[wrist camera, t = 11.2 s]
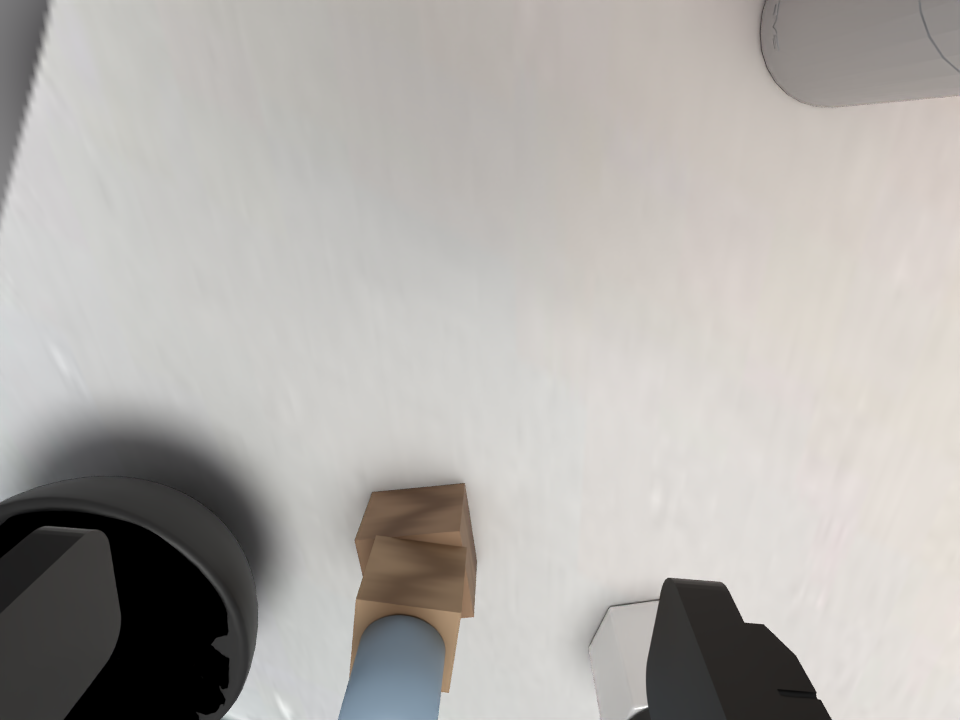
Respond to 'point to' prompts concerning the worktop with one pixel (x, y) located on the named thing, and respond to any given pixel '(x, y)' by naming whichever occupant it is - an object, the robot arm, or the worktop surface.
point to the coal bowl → (156, 596)
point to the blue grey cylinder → (396, 672)
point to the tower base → (422, 525)
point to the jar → (623, 661)
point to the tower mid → (413, 590)
